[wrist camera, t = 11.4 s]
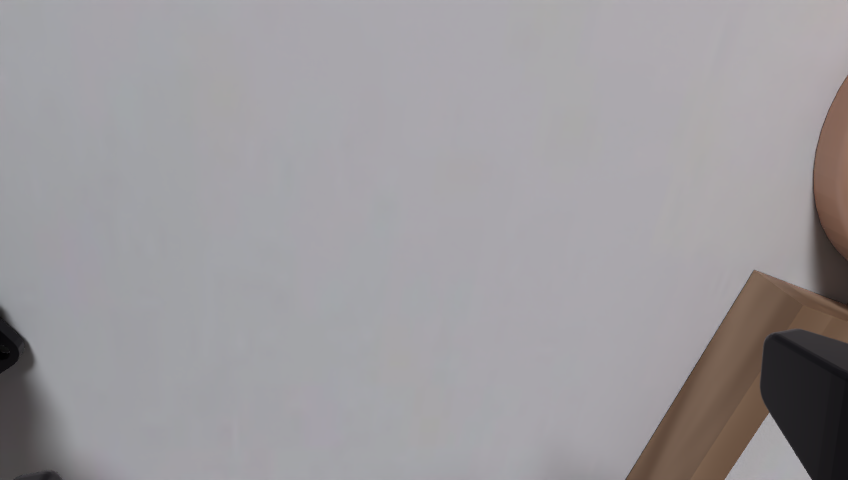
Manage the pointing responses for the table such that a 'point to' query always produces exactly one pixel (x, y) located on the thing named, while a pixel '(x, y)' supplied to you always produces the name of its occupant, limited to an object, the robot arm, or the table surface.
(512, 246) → the table surface
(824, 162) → the terracotta stand
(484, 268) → the table surface
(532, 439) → the table surface
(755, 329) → the brown wooden frame
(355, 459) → the table surface
